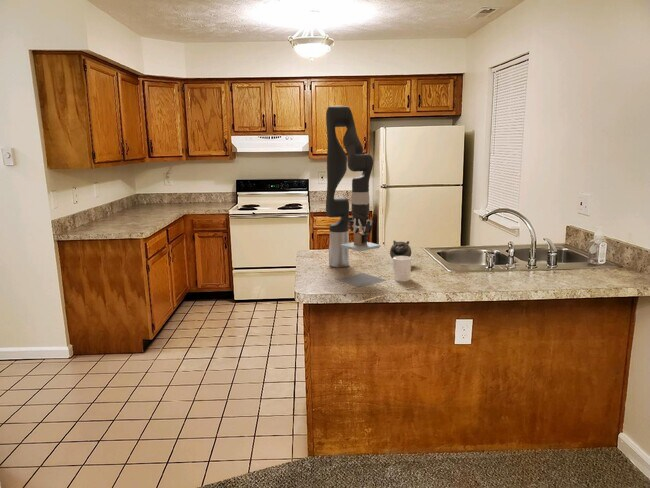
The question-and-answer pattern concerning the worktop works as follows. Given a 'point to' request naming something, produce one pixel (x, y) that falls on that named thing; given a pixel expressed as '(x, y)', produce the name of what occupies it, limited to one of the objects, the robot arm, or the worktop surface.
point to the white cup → (401, 268)
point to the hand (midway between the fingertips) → (360, 242)
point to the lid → (359, 244)
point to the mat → (360, 280)
